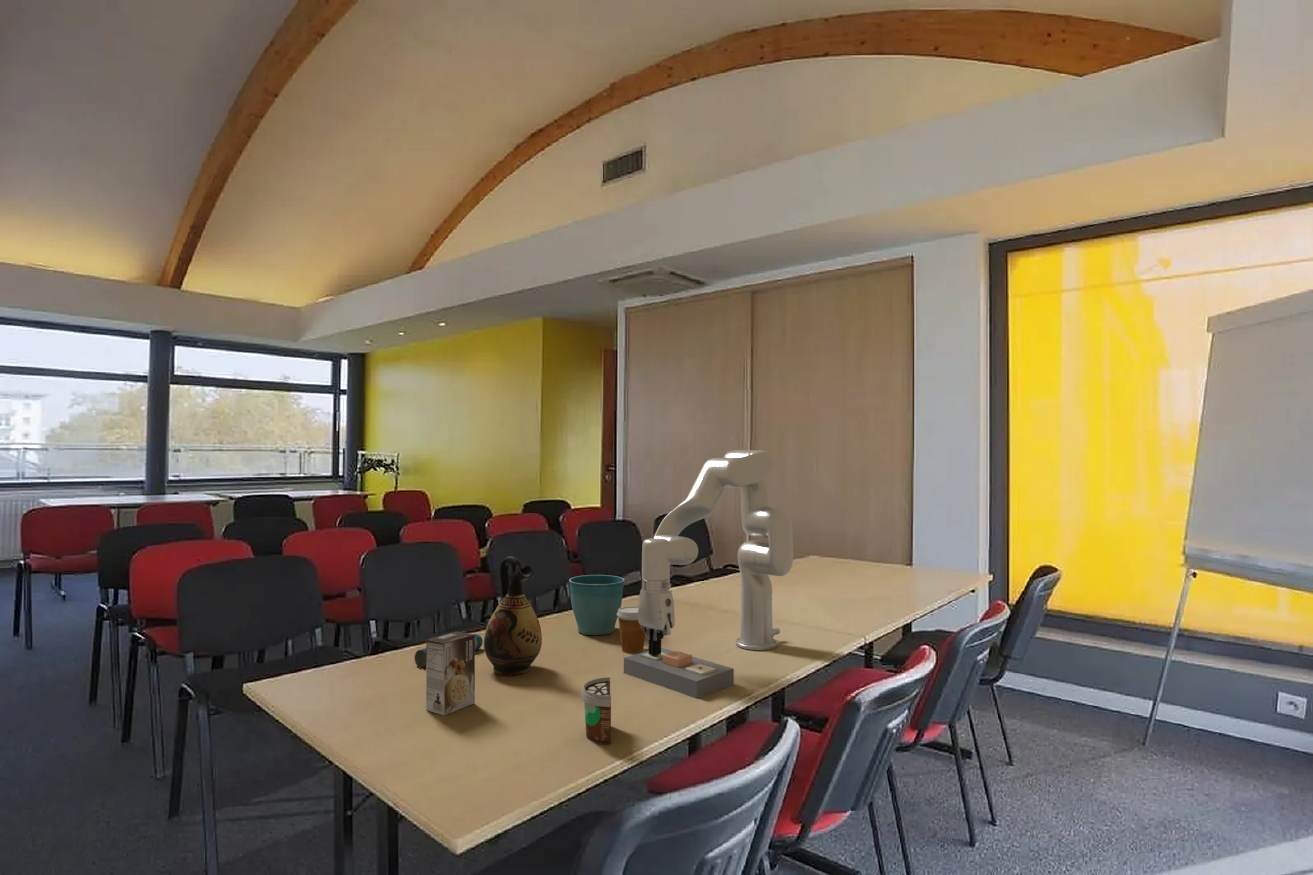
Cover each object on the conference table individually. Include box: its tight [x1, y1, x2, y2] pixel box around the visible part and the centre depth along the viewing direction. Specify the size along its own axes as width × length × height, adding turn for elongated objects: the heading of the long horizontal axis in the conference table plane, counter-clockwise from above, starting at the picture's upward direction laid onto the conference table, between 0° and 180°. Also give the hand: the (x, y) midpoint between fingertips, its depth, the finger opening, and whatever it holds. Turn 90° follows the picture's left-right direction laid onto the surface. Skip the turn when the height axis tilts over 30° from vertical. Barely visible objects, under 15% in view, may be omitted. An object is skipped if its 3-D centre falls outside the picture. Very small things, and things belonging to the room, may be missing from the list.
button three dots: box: [663, 650, 693, 668], centre depth 178 cm, size 5×5×4 cm
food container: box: [580, 676, 612, 745], centre depth 142 cm, size 12×6×10 cm, turn 5°
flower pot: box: [568, 574, 625, 636], centre depth 225 cm, size 18×18×17 cm
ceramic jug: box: [483, 555, 543, 677], centre depth 185 cm, size 17×15×30 cm
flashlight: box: [414, 633, 484, 669], centre depth 196 cm, size 5×22×5 cm, turn 149°
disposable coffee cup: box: [617, 605, 646, 654], centre depth 204 cm, size 10×10×12 cm
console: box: [623, 647, 735, 699], centre depth 178 cm, size 14×26×4 cm, turn 44°
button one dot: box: [685, 664, 716, 675], centre depth 172 cm, size 5×5×4 cm
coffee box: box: [425, 631, 476, 716], centre depth 157 cm, size 9×6×16 cm
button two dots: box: [642, 652, 666, 661], centre depth 184 cm, size 5×5×4 cm
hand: (654, 654), depth 184 cm, fingers closed
